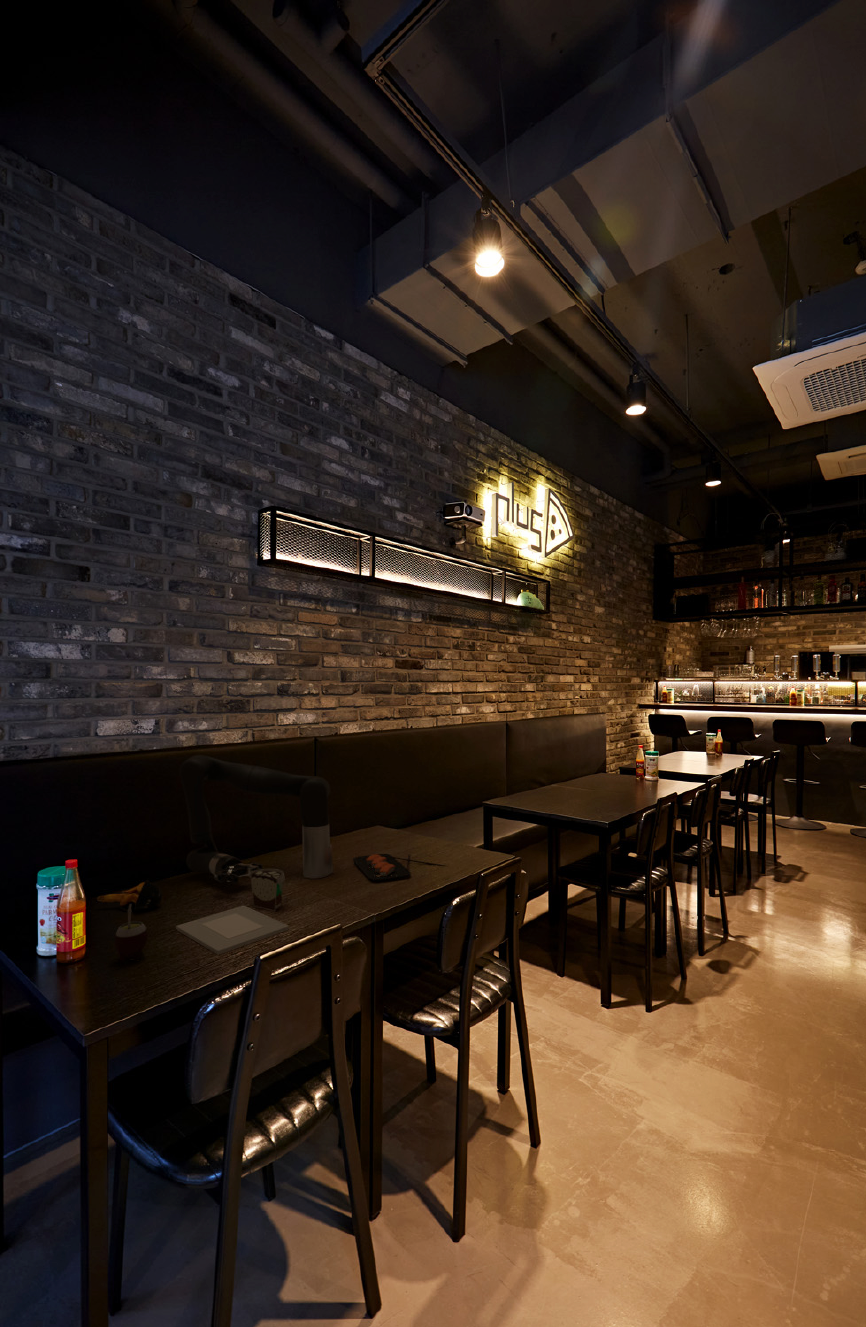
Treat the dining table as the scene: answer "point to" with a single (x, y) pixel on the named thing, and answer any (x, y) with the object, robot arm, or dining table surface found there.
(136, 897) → the fried shrimp in bowl
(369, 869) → the sushi plate
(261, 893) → the food container
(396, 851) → the dining table surface
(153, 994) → the dining table surface
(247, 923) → the dock
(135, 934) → the mate gourd
